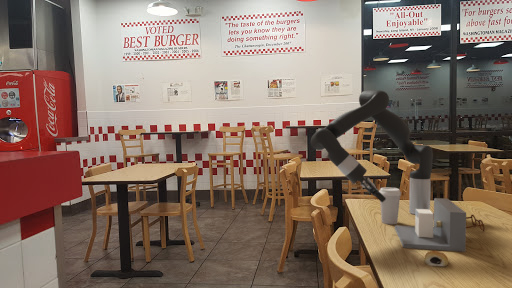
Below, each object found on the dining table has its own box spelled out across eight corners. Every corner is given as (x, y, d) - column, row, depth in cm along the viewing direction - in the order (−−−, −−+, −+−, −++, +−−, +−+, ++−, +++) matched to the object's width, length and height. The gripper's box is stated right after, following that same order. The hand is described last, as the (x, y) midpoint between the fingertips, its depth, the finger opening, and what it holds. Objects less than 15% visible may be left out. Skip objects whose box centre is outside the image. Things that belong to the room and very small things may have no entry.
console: (394, 228, 156) (395, 196, 155) (446, 231, 151) (447, 198, 151) (403, 247, 133) (403, 210, 132) (465, 251, 128) (466, 212, 127)
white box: (414, 231, 146) (414, 208, 146) (429, 232, 145) (429, 209, 145) (418, 236, 140) (418, 213, 139) (433, 237, 138) (433, 213, 138)
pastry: (426, 255, 125) (426, 244, 125) (448, 259, 122) (449, 247, 122) (424, 265, 117) (424, 253, 117) (448, 269, 114) (448, 257, 114)
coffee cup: (400, 220, 169) (400, 187, 168) (401, 226, 160) (401, 191, 159) (378, 218, 172) (378, 186, 171) (378, 224, 163) (378, 190, 162)
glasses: (485, 233, 150) (485, 221, 149) (450, 232, 152) (450, 220, 152) (473, 224, 163) (473, 213, 162) (440, 223, 165) (441, 212, 165)
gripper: (359, 163, 140) (393, 197, 138) (357, 160, 153) (389, 190, 151) (344, 177, 142) (378, 210, 140) (344, 172, 155) (375, 203, 152)
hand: (383, 200), depth 145 cm, fingers closed
